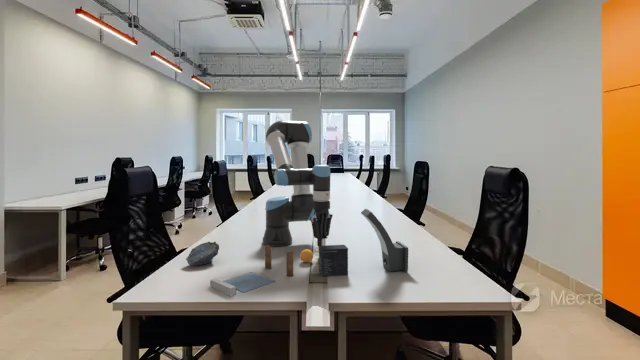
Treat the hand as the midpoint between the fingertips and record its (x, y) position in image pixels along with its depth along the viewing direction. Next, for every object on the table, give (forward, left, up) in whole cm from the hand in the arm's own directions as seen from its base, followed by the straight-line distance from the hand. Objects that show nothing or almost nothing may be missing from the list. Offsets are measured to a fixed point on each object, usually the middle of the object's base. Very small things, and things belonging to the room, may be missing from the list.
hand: (321, 252), depth 161 cm
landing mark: (0, -40, -2) cm, 40 cm away
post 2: (+6, -25, -2) cm, 26 cm away
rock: (-31, -40, -2) cm, 50 cm away
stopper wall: (0, -51, -2) cm, 51 cm away
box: (+17, -12, -2) cm, 21 cm away
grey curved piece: (+29, +5, -2) cm, 29 cm away
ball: (0, -9, +1) cm, 9 cm away
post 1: (-6, -25, -2) cm, 26 cm away
